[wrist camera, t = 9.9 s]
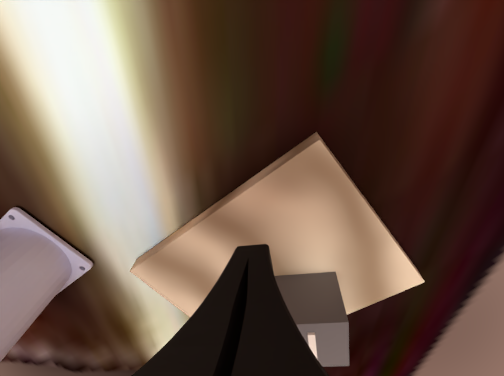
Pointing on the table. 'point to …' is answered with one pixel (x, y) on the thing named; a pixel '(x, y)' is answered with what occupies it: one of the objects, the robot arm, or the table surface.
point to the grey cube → (318, 314)
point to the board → (286, 234)
